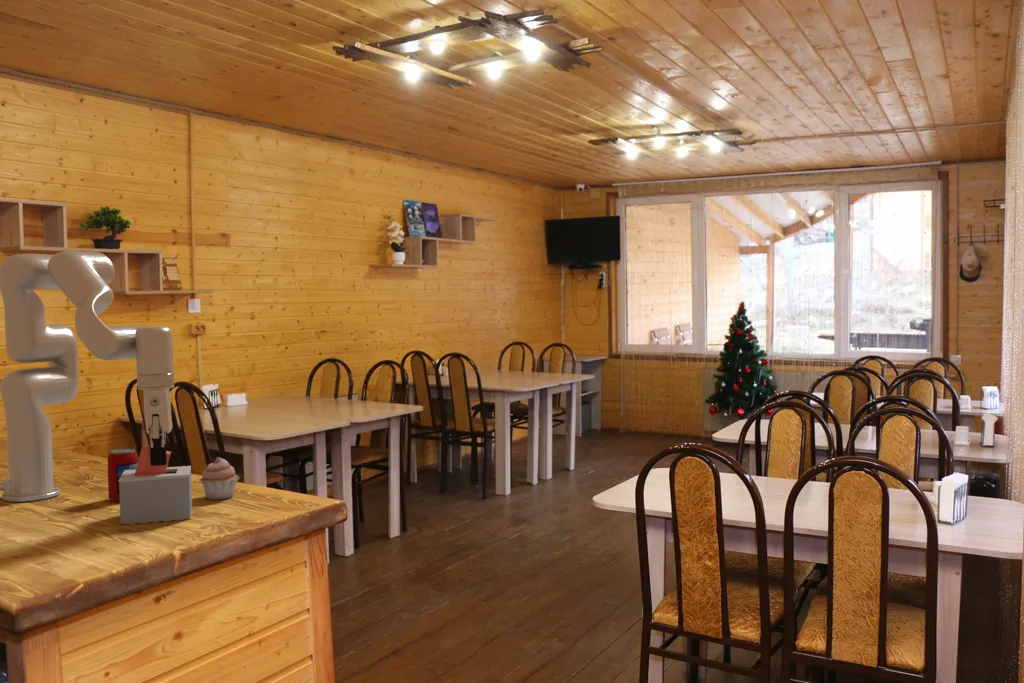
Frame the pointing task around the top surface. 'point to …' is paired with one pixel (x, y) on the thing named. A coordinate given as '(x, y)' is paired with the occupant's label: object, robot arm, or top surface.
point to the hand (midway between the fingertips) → (159, 463)
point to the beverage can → (119, 469)
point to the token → (149, 464)
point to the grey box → (155, 496)
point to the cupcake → (219, 480)
